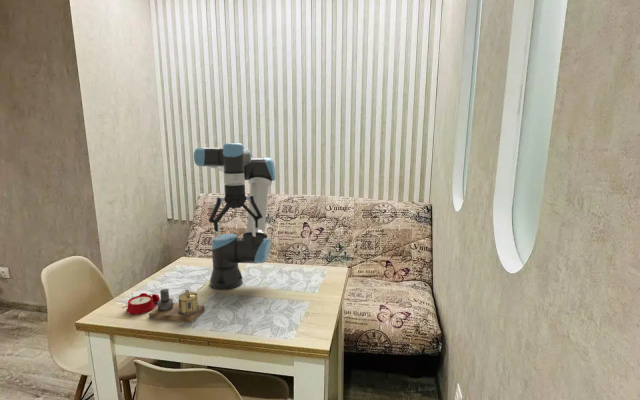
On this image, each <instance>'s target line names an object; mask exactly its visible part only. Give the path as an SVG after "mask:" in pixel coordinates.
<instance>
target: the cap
mask: <svg viewBox="0 0 640 400" xmlns="http://www.w3.org/2000/svg"><path fill="white" fill-rule="evenodd" d="M178 303H179V311H180V312H181V313H182V314H189V313H193V312H195V311H197V309H198V305H199V304H198V303H199V302H198V293H197V292H195V291H190V290H189V289H186V290H185V291H184V292H181V293H180V294H179V295H178Z"/></svg>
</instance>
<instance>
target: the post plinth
mask: <svg viewBox="0 0 640 400" xmlns="http://www.w3.org/2000/svg"><path fill="white" fill-rule="evenodd" d="M159 292H160V300H159V301H158V304H157V306H156V307H154V309H152V310H151V311H149V312H148V319H153V320H155V319H156V320H165V321H175V322H176V321H177V322H185V323H193V322H194V321H195V320H196V319H197V318H198V317H199V316H200V315H201V314H202V313H203V312H204V311H205V309H206V308H205V305H201V304H198V309H197V311H195V312H193V313H189V314H182V313H181V312H180V311H179V302H174V300H173V298H171V297H170V296H169V295H170V293H169V289H168V288H162V289H160V290H159Z"/></svg>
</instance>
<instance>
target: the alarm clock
mask: <svg viewBox="0 0 640 400" xmlns="http://www.w3.org/2000/svg"><path fill="white" fill-rule="evenodd" d="M159 300H161V298H160V295H159V294H155V293H154V294H153V293H151V294H148V293H145V292H142V293H140V294H139V295H136V296H133V297H131V298H130V299H128V301H127V306H124V307H122V308H121V309H124V308H127V309H126V312H127V313H128V314H130V315H131V316H133V315H139V314H141V315H142V314H145V313H150V312H151V311H153V310H154V309H155V308H156V304H157V305H158V301H159ZM155 303H156V304H155Z"/></svg>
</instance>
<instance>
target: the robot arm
mask: <svg viewBox="0 0 640 400" xmlns="http://www.w3.org/2000/svg"><path fill="white" fill-rule="evenodd" d="M193 161H194V164H195V165H196V166H198V167H203V168H204V167H208V168H212V169H214V170H218V171H220V172H223V178H224V179H223V181H224V184H225V185H224V197H219V196H217V197H216V203H215V205H214V207H213V210H212V211H211V214H210V216H209V218H208V222H209V223H212V224H213V229H214V230H213V231H214V232H215V233H216V234H217V235H216V237H214V238H213V239H212V241H211V253H212V271H211V275H210V279H209V286H210V287H211V288H213V289H215V290H227V289H233V288H237V287H240V285H242V284H243V281H244V280H243V276H242V272H241V271H240V267H239V264H265V263H266V262H267V261H268V259H269V256H270V250H271V245H272V243H271V239H270V238H268V234H267V233H266V220H267V219H266V218H267V210H268V209H267V208H268V207H267V205H268V197H269V195H268V194H269V187H270V186H272V184H273V183H272V182H273V181H276V169H275V168H276V167H275V163H274V160H273V158H272V157H266V156H265V157H252V152H251V151H250V150H249V149H248V148H247V147H244V144H242V143H238V142H237V143H235V142H234V143H232V142H231V143H228V142H227V143H224V144H223V147H205V146H203V147H197V148H195V150H194V152H193ZM245 181H247V182H248V184H249V185H250V193H249V195H248V196H247V195H246V185H245ZM246 201H248V202H249V203H248V206H247V205H246V204H245V203H246ZM223 202H225V205H224V207H223V208H222V209H221V211H220V212H219V213H218V211H219V209H220V208H221V207H220V206H221V204H223ZM241 208H243V209H244V210H245V211H246V212H247V221H246V223H247V224H246V231H244V232H243V233H242V237H238V235H237V234H234V233H228V234H227V233H226V234H221V225H220V224H221V223H220V221H221V220H222V218H223V217H224V216H225V214H226V213H228V211H229V210H230V209H241ZM217 213H218V214H217ZM216 215H217V216H216Z"/></svg>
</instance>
